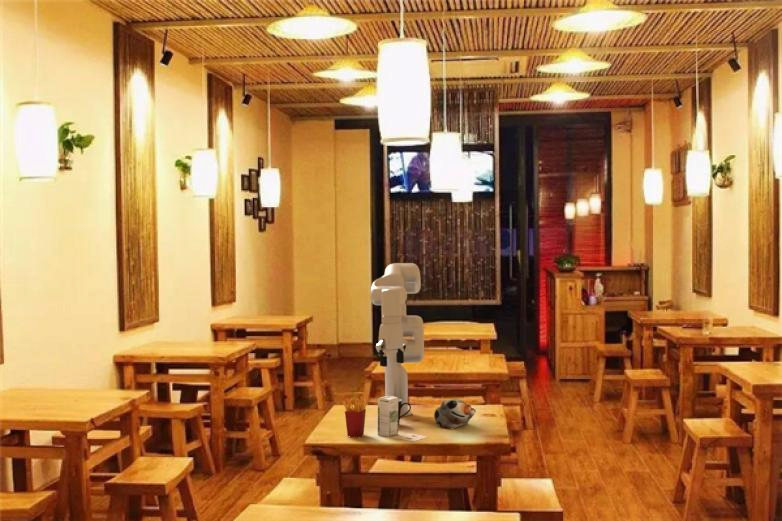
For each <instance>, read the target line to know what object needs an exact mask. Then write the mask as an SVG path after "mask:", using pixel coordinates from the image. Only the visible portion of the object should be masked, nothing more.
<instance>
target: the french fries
mask: <svg viewBox="0 0 782 521" xmlns="http://www.w3.org/2000/svg"><path fill="white" fill-rule="evenodd" d="M360 399H361V402H360ZM360 399H359V397H356V396H353V397H351V398H350V399H349V398H346V401H345V400H343V401H342V405H343V406H344V408H345V411H344V415H345V423H346V432H347V434H346V435H347V437H348V436H350V437H349V438H358V437H360V438H361V437H362V435H363V436H364V433H365V423H366V412H367V411H366V410H367V409H366V407H367V400H366V399H365V397H364V396H362V395H361V396H360ZM353 400H354V404H352V401H353ZM346 402H347V403H346Z"/></svg>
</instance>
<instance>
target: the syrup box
mask: <svg viewBox="0 0 782 521" xmlns="http://www.w3.org/2000/svg"><path fill="white" fill-rule="evenodd" d="M398 434H399V426H398V398H397V397H394V396H385V395H384V396H381V397H377V435H378V436H382V437H389V438H390V437H393V436H396V435H398Z"/></svg>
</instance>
